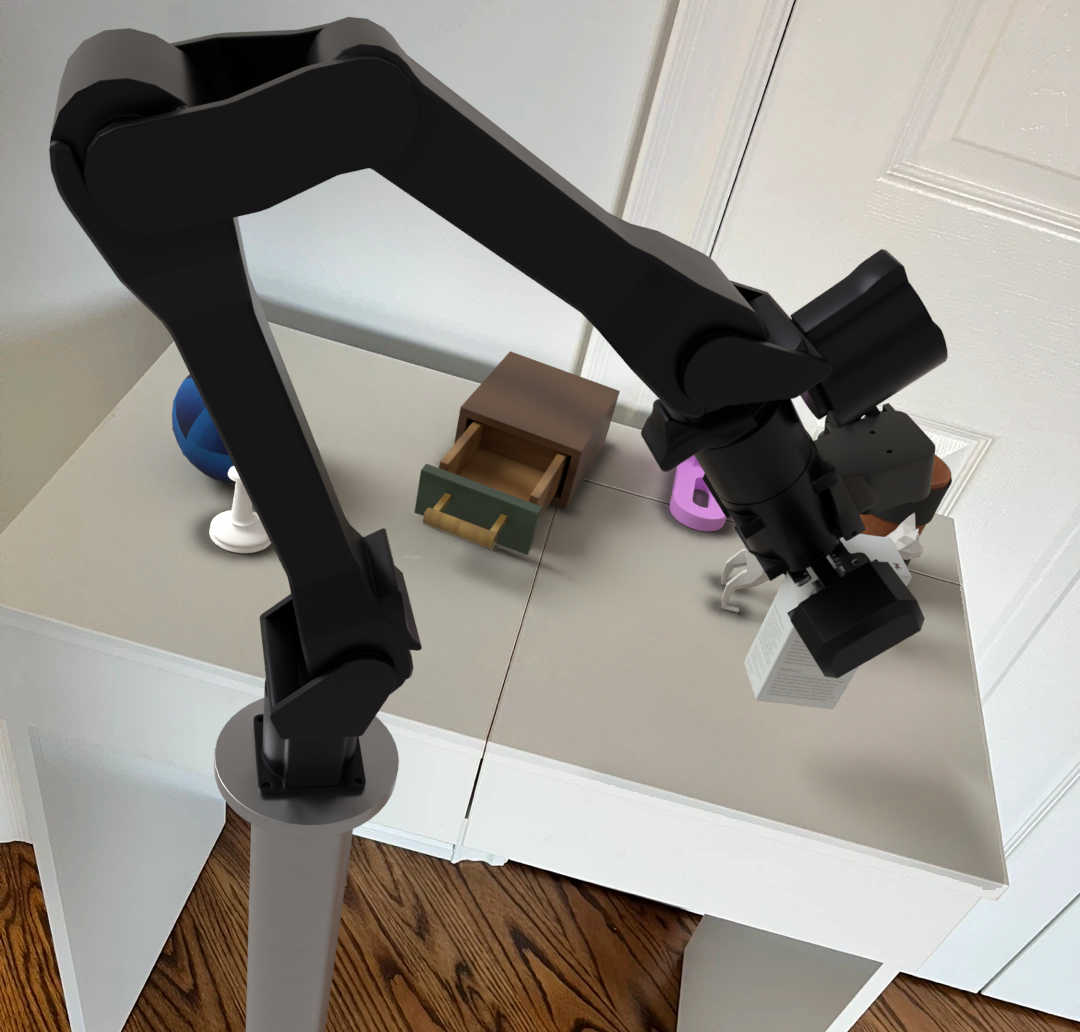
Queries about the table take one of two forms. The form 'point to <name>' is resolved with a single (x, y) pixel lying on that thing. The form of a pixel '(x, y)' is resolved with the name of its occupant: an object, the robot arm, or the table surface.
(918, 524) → the mug
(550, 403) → the cabinet
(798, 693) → the cosmetic box
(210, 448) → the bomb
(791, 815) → the table surface
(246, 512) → the chess piece
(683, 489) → the bracket
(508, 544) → the drawer
